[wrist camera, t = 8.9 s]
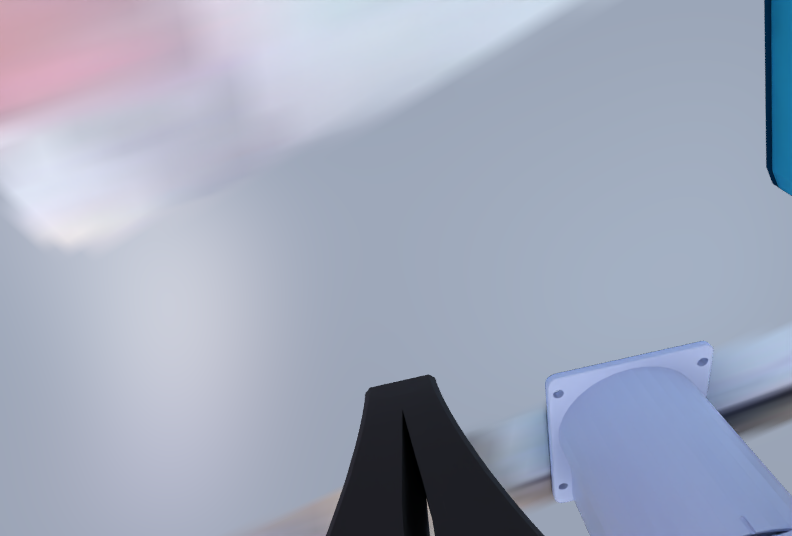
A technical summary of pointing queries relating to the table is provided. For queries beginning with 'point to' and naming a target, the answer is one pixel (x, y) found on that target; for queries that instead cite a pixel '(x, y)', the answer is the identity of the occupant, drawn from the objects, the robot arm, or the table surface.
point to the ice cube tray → (778, 91)
